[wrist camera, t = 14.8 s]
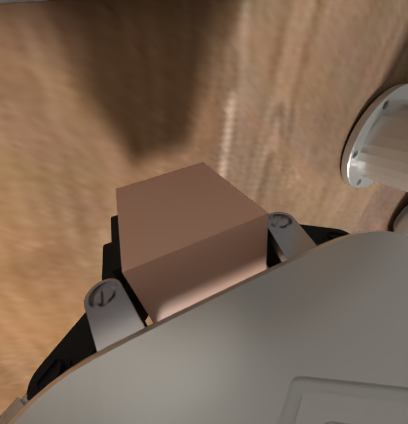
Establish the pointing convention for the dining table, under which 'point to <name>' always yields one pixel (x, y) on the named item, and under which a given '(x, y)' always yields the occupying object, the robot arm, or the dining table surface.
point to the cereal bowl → (402, 222)
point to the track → (11, 0)
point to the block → (187, 238)
